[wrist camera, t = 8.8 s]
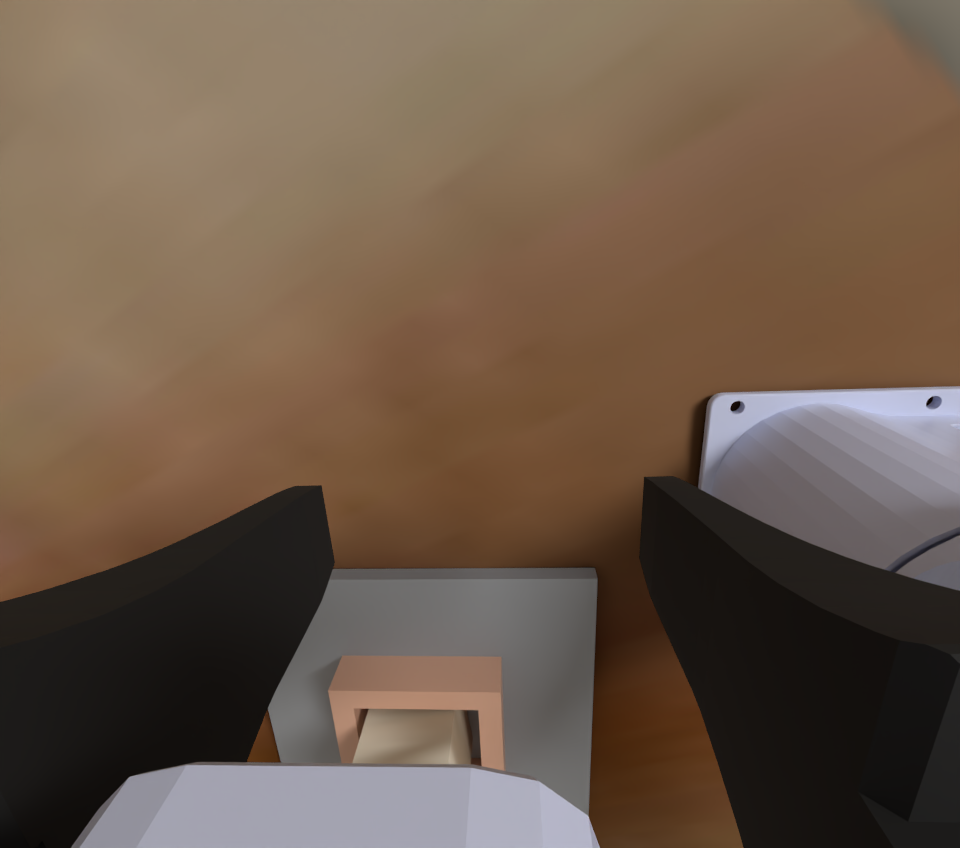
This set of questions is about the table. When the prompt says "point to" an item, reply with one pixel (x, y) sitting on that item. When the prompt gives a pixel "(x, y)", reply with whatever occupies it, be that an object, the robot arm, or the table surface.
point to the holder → (451, 666)
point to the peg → (415, 737)
